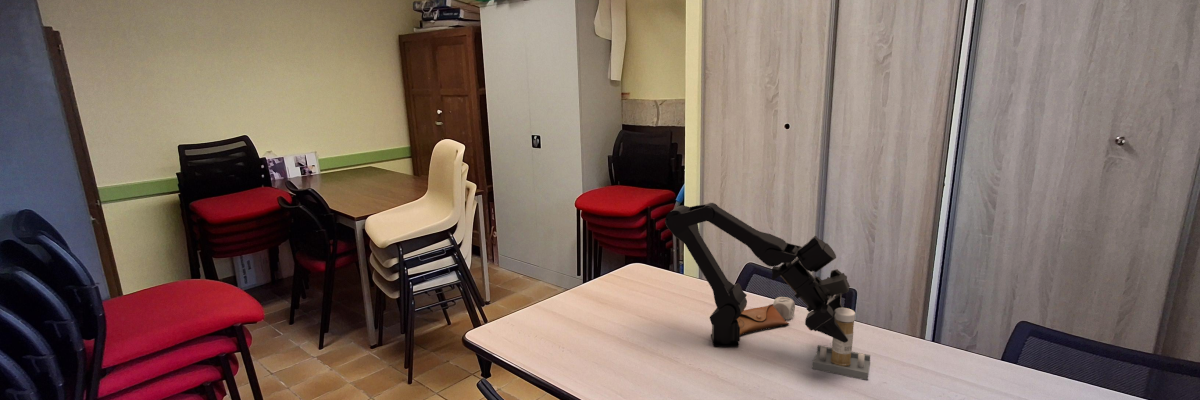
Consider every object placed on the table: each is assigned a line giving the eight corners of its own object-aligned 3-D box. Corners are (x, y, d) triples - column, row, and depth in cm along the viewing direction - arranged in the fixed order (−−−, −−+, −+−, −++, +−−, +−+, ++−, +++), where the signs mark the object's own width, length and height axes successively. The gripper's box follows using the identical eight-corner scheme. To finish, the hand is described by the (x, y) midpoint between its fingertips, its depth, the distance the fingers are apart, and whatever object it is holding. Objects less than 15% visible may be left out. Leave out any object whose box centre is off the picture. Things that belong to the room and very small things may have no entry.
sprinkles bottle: (844, 357, 138) (849, 306, 135) (854, 366, 134) (859, 314, 131) (826, 358, 138) (831, 307, 135) (835, 368, 133) (840, 315, 130)
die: (772, 317, 163) (772, 301, 162) (777, 311, 167) (778, 295, 165) (789, 321, 160) (790, 304, 159) (794, 314, 164) (795, 298, 163)
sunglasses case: (737, 336, 150) (730, 311, 152) (724, 339, 157) (717, 315, 159) (791, 323, 157) (784, 300, 159) (777, 327, 163) (770, 304, 165)
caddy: (812, 368, 135) (812, 354, 134) (817, 351, 143) (818, 337, 142) (867, 380, 129) (868, 365, 128) (869, 361, 137) (871, 347, 136)
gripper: (823, 276, 124) (875, 332, 121) (833, 251, 140) (879, 300, 137) (785, 303, 130) (833, 357, 127) (798, 276, 145) (842, 324, 143)
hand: (848, 333), depth 133 cm, fingers open, 9 cm apart
